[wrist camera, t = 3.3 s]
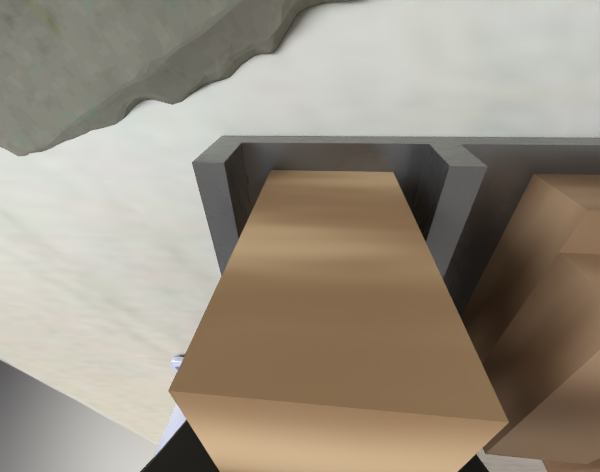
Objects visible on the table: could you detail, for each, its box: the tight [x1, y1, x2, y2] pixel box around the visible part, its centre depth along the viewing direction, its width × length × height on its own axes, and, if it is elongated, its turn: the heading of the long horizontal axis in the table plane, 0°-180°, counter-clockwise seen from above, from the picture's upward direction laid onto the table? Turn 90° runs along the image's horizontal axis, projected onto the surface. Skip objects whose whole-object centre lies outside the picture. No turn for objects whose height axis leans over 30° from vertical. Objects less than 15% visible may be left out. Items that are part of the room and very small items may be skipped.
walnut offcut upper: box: [482, 253, 600, 464], centre depth 10 cm, size 9×4×2 cm, turn 1°
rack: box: [192, 136, 600, 317], centre depth 13 cm, size 14×19×3 cm
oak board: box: [169, 170, 509, 472], centre depth 10 cm, size 12×4×8 cm, turn 1°
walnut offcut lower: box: [460, 174, 600, 363], centre depth 12 cm, size 12×4×2 cm, turn 1°
